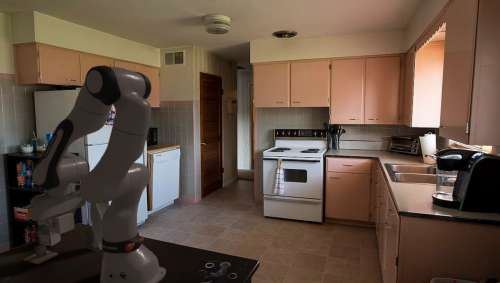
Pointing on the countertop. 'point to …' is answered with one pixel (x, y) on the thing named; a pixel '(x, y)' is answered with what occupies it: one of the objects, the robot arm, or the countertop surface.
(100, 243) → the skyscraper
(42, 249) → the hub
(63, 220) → the knob
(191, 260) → the countertop surface
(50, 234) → the syrup box
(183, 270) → the countertop surface
